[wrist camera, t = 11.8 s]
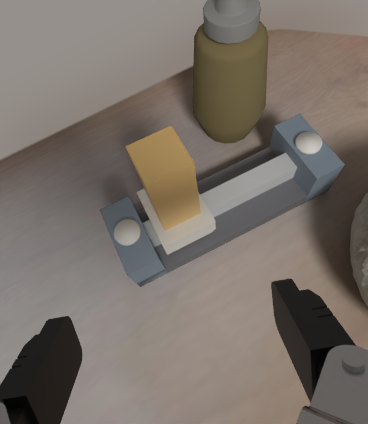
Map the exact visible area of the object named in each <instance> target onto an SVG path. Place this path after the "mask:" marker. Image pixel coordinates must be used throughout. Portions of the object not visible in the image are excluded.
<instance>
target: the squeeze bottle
mask: <svg viewBox="0 0 368 424" xmlns="http://www.w3.org/2000/svg"><path fill="white" fill-rule="evenodd" d="M260 11H261V7H260V2H259V0H207V2H206V4H205V6H204V8H203V15H204V23H203V24H202V25H201V26H200V27H199V28H198V30H197V32H196V34H195V37H194V71H193V112H194V114H195V115H196V117H197V119H198V120H199V122H200V124H201V125H202V127H203V128H204V130H205V131H206V133H207V135H208V136H209V137H210V138H212V139H213V140H215V141H218V142H222V143H234V142H237V141H239V140H242V139H244V138H245V137H246V136H247V135H248V134H249V133H250V131H251V130H252V129H253V127H254V126H255V124H256V123H257V122H258V120H259V119H260V118H261V116H262V114H263V111H264V108H265V105H266V80H267V55H268V35H267V30H266V27H265V26H264V25H263V24H262V23H261V22H260V21H259V20H260Z"/></svg>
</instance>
